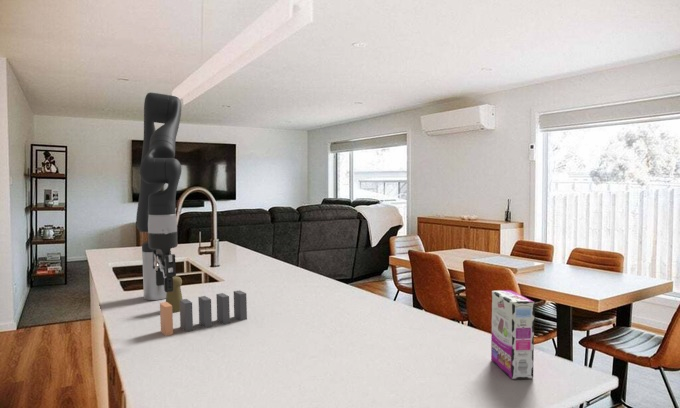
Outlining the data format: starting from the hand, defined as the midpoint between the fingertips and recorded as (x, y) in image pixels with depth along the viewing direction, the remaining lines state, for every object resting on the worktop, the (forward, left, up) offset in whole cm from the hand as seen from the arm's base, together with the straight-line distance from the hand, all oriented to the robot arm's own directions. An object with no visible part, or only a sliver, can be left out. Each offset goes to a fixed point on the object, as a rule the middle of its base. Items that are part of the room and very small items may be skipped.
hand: (164, 288), depth 130 cm
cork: (-22, +9, -13) cm, 27 cm away
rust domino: (0, 0, -13) cm, 13 cm away
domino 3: (0, +17, -13) cm, 21 cm away
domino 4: (0, +22, -13) cm, 25 cm away
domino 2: (0, +11, -13) cm, 17 cm away
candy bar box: (+73, +54, -13) cm, 92 cm away
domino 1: (0, +6, -13) cm, 14 cm away
